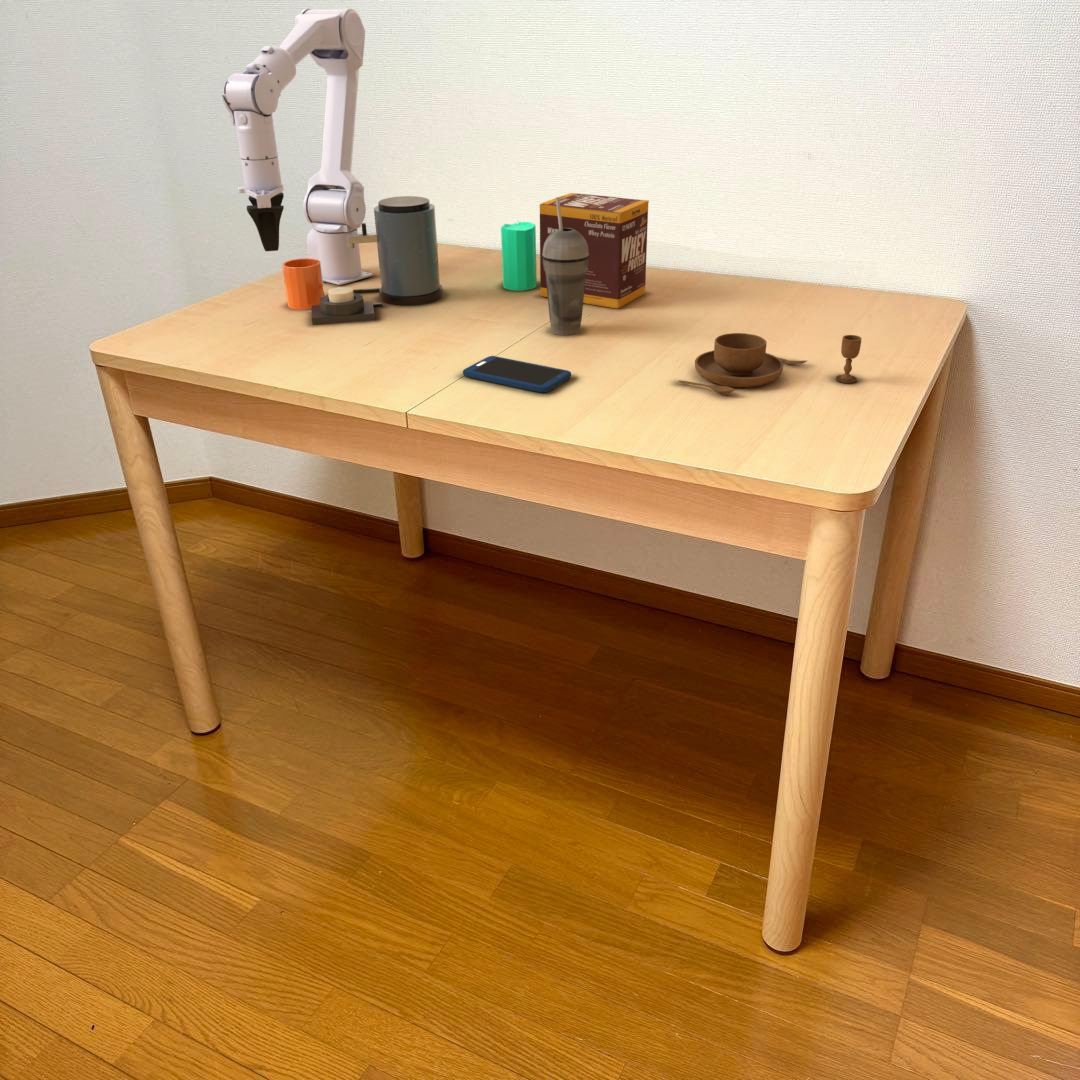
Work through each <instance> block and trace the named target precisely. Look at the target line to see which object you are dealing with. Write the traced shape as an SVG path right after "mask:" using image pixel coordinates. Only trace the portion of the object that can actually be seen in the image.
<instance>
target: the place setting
mask: <svg viewBox="0 0 1080 1080" xmlns="http://www.w3.org/2000/svg"><path fill="white" fill-rule="evenodd" d="M767 345H768V344H767V341H766V339H765V338H764V337H762V336H761V335H760V336H759V335H756V334H753V333H746V332H731V333H725V334H721V335H719V336H717V337H715V339H714V345H713V350H708V351H706V352H703V353H701V354H699V355H698V356H696V358H695V359H694V368H695V370H696V373H697V374H698V375H699V376H700V377H702V378H703V379H704V380H706V381H708V382H710V383H713V384H715V385H713V384H706V383H701V382H700V383H699V382H694V381H687V380H678V381H677V383H681V384H686V385H694V386H700V387H705V388H710V389H711V390H712V391H714V392H716V393H721V394H731V393H734V392H735V388H755V387H759V386H764V385H767V384H769V383H772V382H774V381H776V380H777V379H778V378H779V377H780V376H781V374H782V373H783V369H784V363H785V364H787V365H801V364H805V363H807V362H808V360H788V359H785V358H783V357H782V358H781V357H777V356H775V355H774V354H771V353H768V352H767ZM840 346H841V347H840V351H841V353H840V354H841V356H842V358H844V359H845V364H844V366H843V371H844V373H843V374H838V375H837V376H835V380H836V381H837V382H838V383H842V384H855V383H857V382H858V378H857V377H856V376H854V375H851V374H850V373H851V372H852V370H853V366H852V362H853V359H856V358H857V357H859V354H860V351H861V347H862V337H861V336H859V335H857V334H856V335H855V334H845V335H843V336H842V339H841V345H840ZM783 362H784V363H783Z"/></svg>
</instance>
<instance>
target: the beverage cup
mask: <svg viewBox="0 0 1080 1080" xmlns="http://www.w3.org/2000/svg"><path fill="white" fill-rule="evenodd" d="M559 197H560V196H557V197H556V196H555V198H556V205H557V214H558V222H559V229H557V230H555V231H554V232H552V233H551V234H550V235H549V236H548V238H547V239H546V241H545V243H544V247H543V253H542V257H541V258H542V259H543V266H544V271H545V274H546V285H547V295H548V297H547V303H548V314H549V323H550V329H551V331H550V332H551V333H552V334H554V335H558V336H574V335H577V334H579V333H580V332H581V324H582V320H583V318H582V317H583V311H584V309H583V308H584V303H583V299H584V287H585V276H586V271H587V267H588V258H590V255H589V252H588V245H587V242H586V240H585V239H584V237H583V236H582V235H581V234H580V233H579V232H578V231H576V230H574V229H572V228H563V227H562V218H561V210H560V202H559Z"/></svg>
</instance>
